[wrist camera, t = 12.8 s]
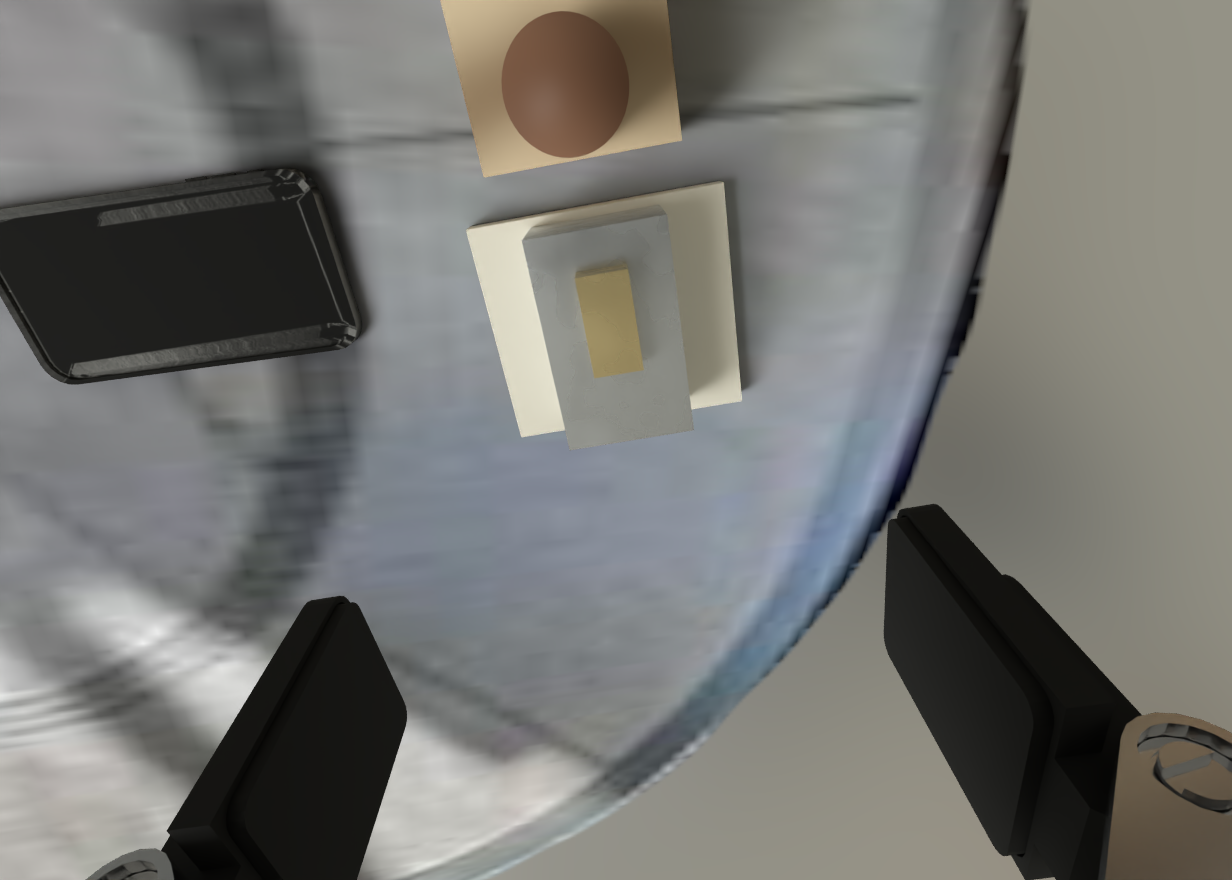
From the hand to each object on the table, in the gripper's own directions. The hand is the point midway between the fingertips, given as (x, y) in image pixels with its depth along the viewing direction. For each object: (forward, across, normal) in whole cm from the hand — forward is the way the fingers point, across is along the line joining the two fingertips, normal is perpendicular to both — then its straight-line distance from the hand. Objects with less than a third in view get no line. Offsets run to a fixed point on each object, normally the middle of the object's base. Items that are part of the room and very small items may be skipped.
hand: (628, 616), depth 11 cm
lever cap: (+19, 0, 0) cm, 19 cm away
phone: (+21, +19, -5) cm, 29 cm away
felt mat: (+20, 0, 0) cm, 20 cm away
